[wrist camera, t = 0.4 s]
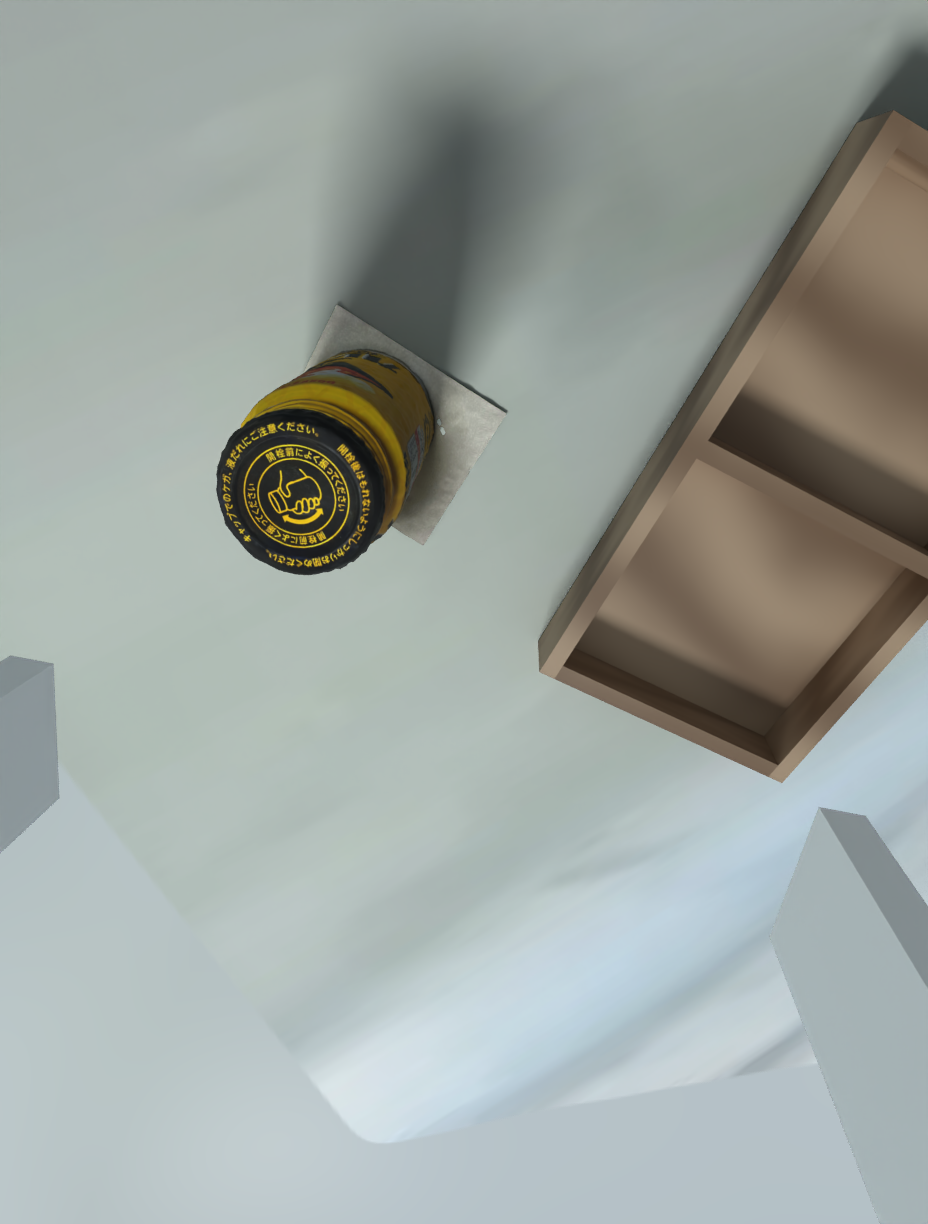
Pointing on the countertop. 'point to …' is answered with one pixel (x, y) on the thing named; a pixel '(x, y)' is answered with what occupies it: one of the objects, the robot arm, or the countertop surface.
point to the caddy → (781, 490)
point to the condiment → (349, 452)
